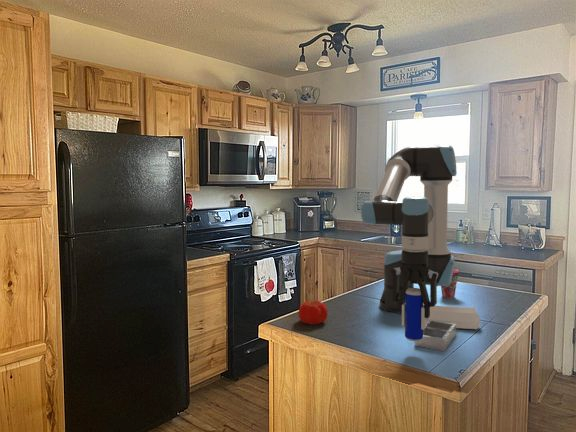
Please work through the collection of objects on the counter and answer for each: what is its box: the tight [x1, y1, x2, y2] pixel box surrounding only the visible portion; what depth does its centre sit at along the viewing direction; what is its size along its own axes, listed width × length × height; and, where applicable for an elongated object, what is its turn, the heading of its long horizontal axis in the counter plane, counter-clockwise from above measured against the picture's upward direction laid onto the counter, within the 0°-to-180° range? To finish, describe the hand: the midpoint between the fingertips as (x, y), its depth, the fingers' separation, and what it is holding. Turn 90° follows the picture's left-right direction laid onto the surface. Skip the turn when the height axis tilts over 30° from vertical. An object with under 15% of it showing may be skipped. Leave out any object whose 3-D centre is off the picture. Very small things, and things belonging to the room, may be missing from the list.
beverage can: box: [404, 287, 424, 342], centre depth 133 cm, size 5×5×15 cm
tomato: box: [298, 300, 329, 326], centre depth 163 cm, size 11×11×8 cm
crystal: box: [423, 304, 482, 330], centre depth 158 cm, size 7×7×24 cm
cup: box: [440, 268, 460, 299], centre depth 196 cm, size 9×8×12 cm
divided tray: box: [414, 320, 457, 352], centre depth 144 cm, size 9×17×4 cm, turn 148°
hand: (413, 326), depth 133 cm, fingers closed on beverage can, 5 cm apart
